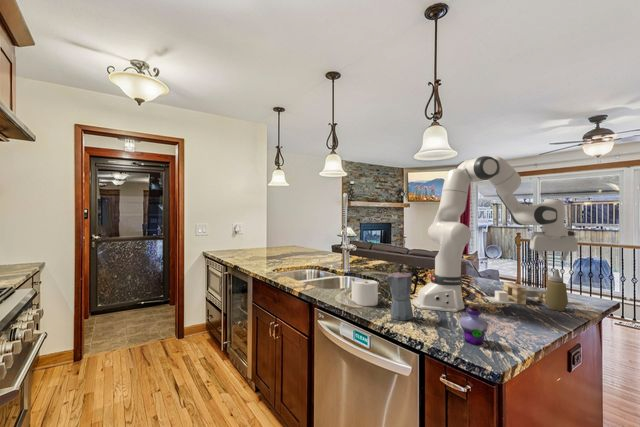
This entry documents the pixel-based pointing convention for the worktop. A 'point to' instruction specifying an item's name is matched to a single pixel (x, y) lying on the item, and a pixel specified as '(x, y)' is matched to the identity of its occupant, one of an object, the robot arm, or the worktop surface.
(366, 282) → the toilet tissue
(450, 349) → the worktop surface
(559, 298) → the squeeze bottle
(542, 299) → the rear saddle
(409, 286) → the moka pot
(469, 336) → the potion bottle
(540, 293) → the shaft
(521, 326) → the worktop surface
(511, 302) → the mat
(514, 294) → the bearing block
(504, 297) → the block
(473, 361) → the worktop surface
